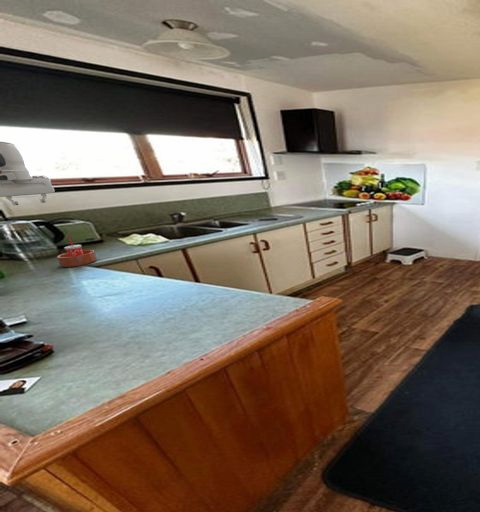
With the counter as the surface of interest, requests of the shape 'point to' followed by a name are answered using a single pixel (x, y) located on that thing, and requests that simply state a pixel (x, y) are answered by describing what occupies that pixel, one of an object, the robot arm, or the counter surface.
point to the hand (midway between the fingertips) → (30, 203)
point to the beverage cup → (74, 249)
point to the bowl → (77, 259)
